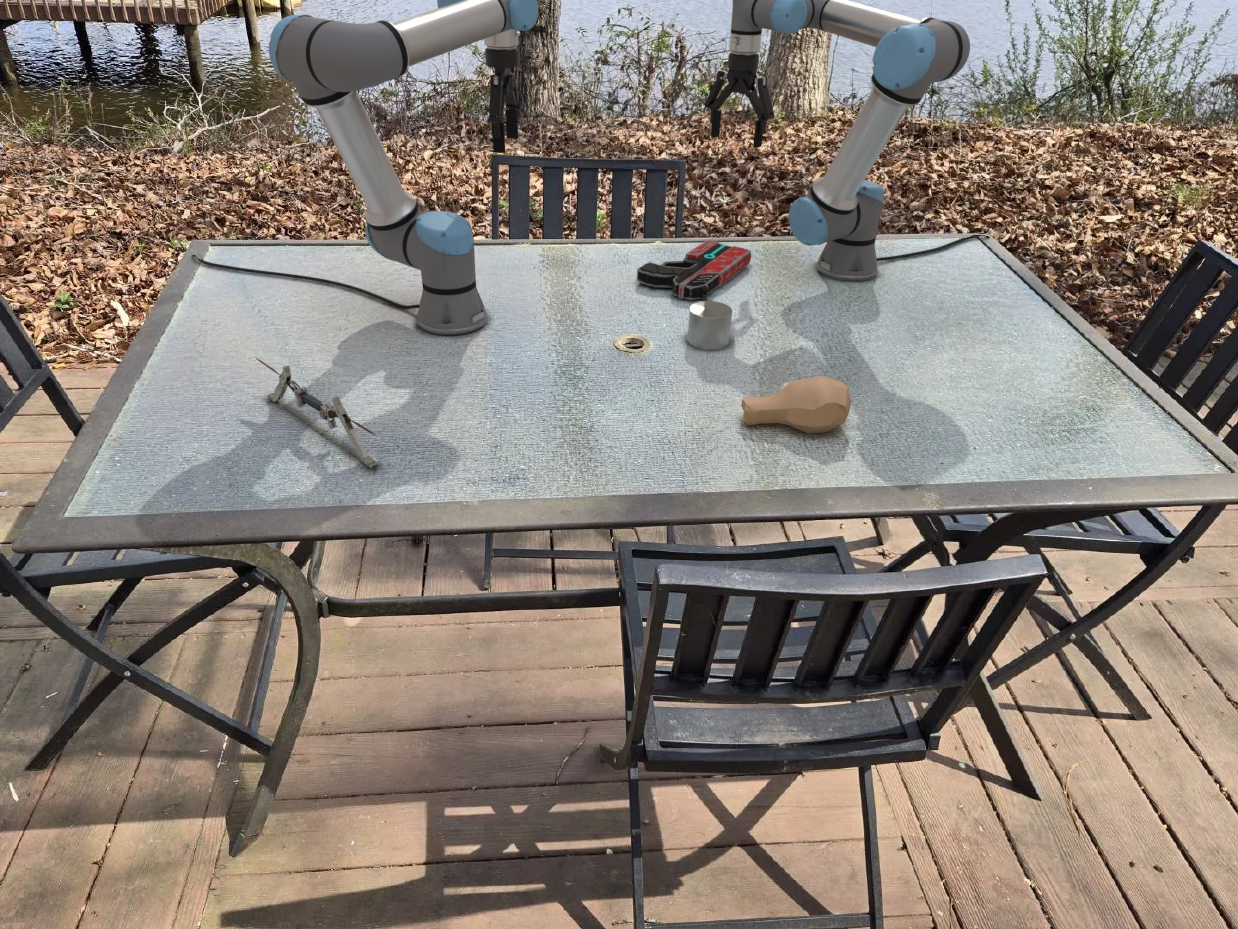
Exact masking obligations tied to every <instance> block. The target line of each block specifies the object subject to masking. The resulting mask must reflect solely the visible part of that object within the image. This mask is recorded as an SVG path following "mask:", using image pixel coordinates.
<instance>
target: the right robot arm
mask: <svg viewBox="0 0 1238 929" xmlns="http://www.w3.org/2000/svg"><path fill="white" fill-rule="evenodd" d="M730 24H731V25H730V34H729V35H730V36H729V46H728V49H729V51H730V52H729V53H728V58H727V69H728V70H727V69H720V70H717V73H716V78H715V81H714V83H713V85H712V87H711V90H710V92H709V94H708V95H707V98H706V100H705V102H704V107H705V108H707V109H709V110H710V115H709V116H710V117H709V123H710V124H711V131H710V138H711V139H716V138H720V135H721V133H720V132H721V122H722V110H721V107H722V106H723V105H724V103H725V102H726V101H727V99H729V97H730V96H731V95H732V94H733V93H734V94H737V93H738V94H740V95H745V97H746V98H747V99H748V101H749V102H750V105H751V107H752V108H753V111H754V113H755V115H756V117H757V120H755V124H754V134H753V135H754V136H753V141H752V142H753V144H752V148H753V149H758V148H761V147H762V146H763V137H764V135H765V134H766V132H767V123H768V120H772V119H774V118H775V112H774V108H773V104H772V100H771V96H770V93H769V89H768V88H769V87H768V77H767V76H762V77H761V76H760V77H758V76H757V72H758V70H759V63H760V62H759V61H760V55H759V52H760V51H761V45H762V44H761V42H762V33H763V32H762V31H763V29H765V30H770V31H774V32H779V33H780V34H795V33H797V32H798V31H799V30H802V29H815V30H818V31H822V32H825V33H829V34H833V35H836V36H839V37H841V38H845V39H848V40H851V41H856V42H858V43H860V44H864V45H867V46H870V47H874V48H875V49H874V52H873V55H872V61H871V62H872V63H873V66H872V75H871V77H870V82H871V85H872V90H871V91H870V93H869V95H868V97H867V98H866V99H865V102H864V104H863V106H862V107H861V109H860V111H859V113H858V115H857V116H856V118H855V120H854V122H853V124H852V126H850V129H849V131H848V133H847V135H846V136H845V138H844V140H843V142H842V143H841V145H840V147H839V149H838V151H837V153H836V154H835V156H834V158H833V159H832V161H831V163H830V164H829V167H828V169H827V170H826V172H825V174H824V176H820V177H817V178H815V179H814V181H813V183H812V184H811V186H810V188H809V189H808V191H807V193H806V195H805V196H801V197H799V198H797V199H795V200H794V201H793V202H792V203H791V205H790V207H789V209H788V223H789V229H790V231H791V233H792V235H793V236H794V238H795V239H796V240H797V241H798V242H799V243H800V244H802V245H805V246H807V247H808V246H809V247H813V246H821V245H823V244H825V246H824V247H823V249H822V251H821V253H820V255H819V257H818V260H817V264H816V269H817V271H818V272H820V274H822V275H824V276H825V277H828V278H830V279H834V280H838V281H845V282H862V281H863V282H864V281H868V280H871V279H874V278H875V277H876V276H877V272H878V262H883V261H892V260H899V259H904V258H905V259H906V258H909V257H915V256H920V255H925V254H931V253H934V252H939V251H941V250H944V249H947V248H950V247H952V246H954V245H957V244H959V243H962V242H964V241H968V240H971V239H976V238H978V237H985V238H986V239H990V238H991V237H990V235H989V234H988V233H987V232H978V233H977V234H987V235H989V236H985V235H975V234H972V235H969V236H970V237H967V236H966V237H967V238H964V237H961V238H958V239H957V240H954V241H951V242H949V243H946V244H944V245H941V246H938V247H935V248H930V249H925V250H920V251H915V252H909V253H904V254H898V255H892V256H891V255H890V256H881V257H877V252H876V240H877V234H878V229H879V224H880V220H881V214H882V210H883V209H882V208H883V205H884V202H885V201H884V197H885V189H884V187H883V186H882V185H881V184H879V183H878V182H877V183H876V182H874V181H871V180H866V178H867V176H868V175H869V173H870V172H871V170H872V169H873V167H874V165H875V163H876V162H877V161H878V158H879V157H880V156H881V153H882V152H883V150H884V149H885V147H886V146H887V144H888V142H889V140H890V138H891V137H892V136H893V134H894V132H895V130H896V129H897V127H898V125H899V124H900V122H901V120H902V119H903V117H904V115H905V114H906V112H907V111H908V109H909V108H910V107H914V106H917V105H919V103H920V102H921V101H922V99H923V98H924V96H925V94H926V93H927V91H928V89H929V88H930V86H931V85H932V84H935V83H940V82H945V81H947V80H949V79H951V78H953V77H955V76H956V75H958V73H960V71H961V70H963V68H964V67H965V65H966V63H967V61H968V60H969V56H970V52H971V42H970V37H969V35H968V33H967V31H966V30H965V28H964V27H963V26H962V25H961V24H959V23H957V22H955V21H951V20H944V19H939V18H935V17H932V16H927V17H925V18H923V19H919V18H914V17H911V16H907V15H904V14H900V13H896V12H893V11H890V10H885V9H881V8H878V7H875V6H870V5H866V4H863V3H861V2H860V3H859V2H857V1H852V0H732V10H731V23H730ZM726 80H727V82H728V83H727V84H726V85H725V82H726ZM724 85H725V87H724V88H723V86H724ZM756 87H757V88H756ZM722 89H723V90H722Z"/></svg>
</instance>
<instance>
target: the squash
mask: <svg viewBox="0 0 1238 929" xmlns="http://www.w3.org/2000/svg"><path fill="white" fill-rule="evenodd" d="M851 399H852V398H851V394H850V391H849V388H848V386H847V385H846V384H845V383H844V382H843V381H840V380H837V379H834V378H831V377H827V376H823V375H816V376H813V377H809V378H805V379H800V380H793V381H791V382H789V383H788V384H786V385H785V386H784V387H783V388H782V389H781V390H780V391H778V392H776V393H774V394H773V395H765V396H745V397H743V398H742V399H741V404H740V406H741V409H742V411H743V417H742V418H743V420H744V423H745V424H746V425H747V426H751V425H759V424H774V423H776V424H781V425H786V426H789V427H792V428H793V429H795V430H797V431H801V432H803V433H806V434H823V433H828V432H830V431H832V430H834V429H836V428H838V427H840V426H842V425H844V424H846V422H847V418H848V416H849V414H850V410H851V405H852V400H851Z"/></svg>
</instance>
